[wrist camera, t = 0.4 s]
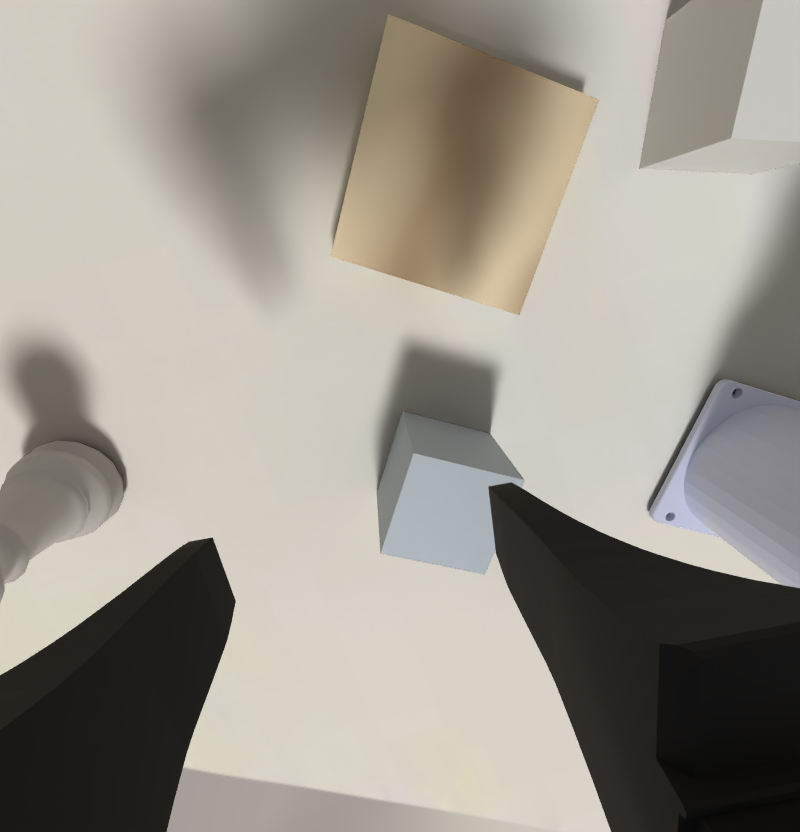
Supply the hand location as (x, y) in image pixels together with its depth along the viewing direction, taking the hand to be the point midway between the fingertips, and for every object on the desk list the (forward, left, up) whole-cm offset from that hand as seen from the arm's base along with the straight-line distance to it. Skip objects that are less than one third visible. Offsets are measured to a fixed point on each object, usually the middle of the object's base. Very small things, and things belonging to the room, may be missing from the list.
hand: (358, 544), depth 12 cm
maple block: (-1, -10, -11) cm, 15 cm away
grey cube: (-10, -16, -10) cm, 22 cm away
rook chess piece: (+12, +7, -10) cm, 17 cm away
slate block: (-4, +2, -10) cm, 11 cm away
